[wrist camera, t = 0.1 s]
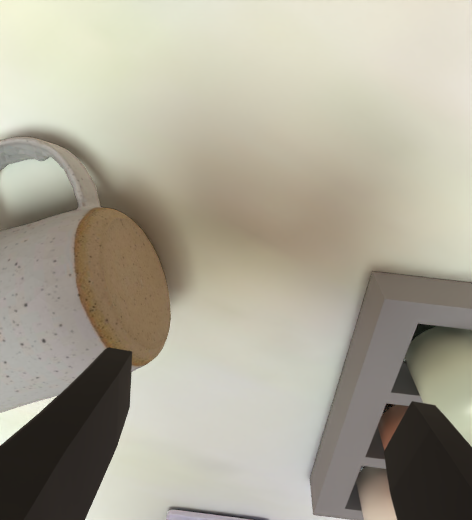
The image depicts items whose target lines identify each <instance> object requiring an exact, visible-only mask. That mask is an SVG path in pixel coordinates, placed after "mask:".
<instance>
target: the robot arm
mask: <svg viewBox="0 0 472 520" xmlns="http://www.w3.org/2000/svg"><path fill="white" fill-rule="evenodd" d="M131 368H132V351H127V350H121V349H116V348H110V347H108V348H106V349H105V350H103V352H102V353H101V354H100V355H99V356H98V357H97V358H96V359H95V360H94V361H93V362H92V363H91V364H90V365H89V366H88V367H87V368H86V369H85V370H84V371H83V372H82V373H81V374H80V375H79V376H78V377H77V378H76V379H75V380H74V381H73V382H72V383H71V384H70V385H69V386H68V387H67V388H66V389H65V390H64V391H63V392H62V393H60V394H59V395H58V396H57V397H56V398H55V399H54V400H53V401H52V402H51V403H50V404H48V405H47V406H46V407H45V408H44V409H43V410H42V411H41V412H40V413H39V414H37V415H36V416H35V417H34V418H33V419H32V420H30V421H29V422H28V423H27V424H26V425H24V426H23V427H22V428H21V429H20V430H19V431H17V432H16V433H15V434H14V435H13V436H11V437H10V438H9V439H8V440H7V441H5V442H4V443H3V444H2V445H1V446H0V520H85V518H86V516H87V514H88V511H89V509H90V507H91V505H92V502H93V500H94V498H95V495H96V493H97V491H98V489H99V486H100V484H101V482H102V480H103V477H104V475H105V473H106V470H107V468H108V466H109V464H110V461H111V459H112V457H113V454H114V452H115V450H116V447H117V445H118V442H119V439H120V435H121V432H122V429H123V426H124V423H125V420H126V417H127V414H128V410H129V407H130V388H131ZM384 456H385V464H386V471H387V478H388V483H389V489H390V495H391V499H392V503H393V506H394V510H395V514H396V517H397V520H472V447H471V446H470V444H469V443H468V442H467V441H466V440H465V438H464V437H463V436H462V435H461V434H460V433H459V431H458V430H457V429H456V428H455V427H454V426H453V424H452V423H451V422H450V421H449V420H448V419H447V418H446V416H445V415H444V414H443V413H442V412H441V411H440V410H439V409H438V408H437V407H436V405H432V404H426V403H420V402H415V401H411V403H410V405H409V407H408V409H407V411H406V412H405V414H404V416H403V418H402V420H401V421H400V423H399V425H398V427H397V429H396V430H395V432H394V434H393V436H392V438H391V439H390V441H389V443H388V445H387V447H386V449H385V450H384ZM166 520H252V519H244V518H236V517H228V516H220V515H212V514H205V513H197V512H189V511H181V510H169V511H168V512H167V517H166Z"/></svg>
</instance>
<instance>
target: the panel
mask: <svg viewBox="0 0 472 520" xmlns="http://www.w3.org/2000/svg"><path fill="white" fill-rule="evenodd" d="M418 324H426V325H435V326H444V327H452V328H461V329H469V330H472V283H469V282H461V281H452V280H443V279H434V278H426V277H417V276H408V275H399V274H391V273H382V272H373V271H372V274H371V277H370V280H369V284H368V287H367V290H366V294H365V297H364V300H363V304H362V307H361V310H360V314H359V317H358V320H357V324H356V327H355V330H354V334H353V337H352V340H351V344H350V347H349V350H348V354H347V357H346V360H345V364H344V367H343V370H342V374H341V377H340V380H339V384H338V387H337V390H336V394H335V397H334V400H333V404H332V407H331V410H330V414H329V417H328V420H327V424H326V427H325V430H324V434H323V437H322V440H321V444H320V447H319V450H318V454H317V457H316V460H315V464H314V467H313V470H312V474H311V477H310V486H311V497H312V507H313V515H319V516H327V517H335V518H342V519H350V520H364V518H363V513H362V508H361V503H360V498H359V493H358V488H357V483H356V479H357V477H358V474H359V471H360V469H361V466H368V467H376V468H384V469H386V464H385V456H384V447H383V444H382V440H381V437H380V433H379V430H378V423H379V421H380V418H381V416H382V413H383V411H384V408H385V406H386V403H387V404H395V405H404V406H409V405H410V403H411V401H415V402H420V403H423V401H422V399H421V397H420V394H419V392H418V390H417V387H416V385H415V383H414V380H413V378H412V376H411V373H410V371H409V369H408V366H407V364H406V362H403V360H404V358H405V355H406V353H407V350H408V348H409V345H410V342H411V340H412V337H413V335H414V332H415V330H416V327H417V325H418Z"/></svg>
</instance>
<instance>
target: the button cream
mask: <svg viewBox="0 0 472 520" xmlns="http://www.w3.org/2000/svg"><path fill="white" fill-rule="evenodd" d="M356 483H357V488H358V493H359V498H360V503H361V508H362V513H363V518H364V520H397V517H396V514H395V510H394V506H393V503H392V499H391V495H390V489H389V483H388V478H387V471H386V469H384V468H376V467H368V466H367V467H365V468H364V469H362V470H361V471H360V472H359V474H358V477H357V479H356Z"/></svg>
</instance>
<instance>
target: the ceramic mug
mask: <svg viewBox="0 0 472 520" xmlns="http://www.w3.org/2000/svg"><path fill="white" fill-rule="evenodd" d="M49 157H52V158H54V159H55V160H56V161H57V162H58V163H59V165H60V166H61V167H62V168H63V169H64V170H65V172H66V174H67V176H68V179H69V181H70V183H71V184H72V186H73V188H74V194H75V196H76V198H77V201H78V208H77V209H76V210H72V211H68V212H65V213H61V214H58V215H54V216H51V217H48V218H45V219H42V220H39V221H36V222H33V223H30V224H26V225H22V226H18V227H12V228H9V229H6V230H2V231H0V413H1V412H5V411H8V410H10V409H13V408H16V407H20V406H23V405H26V404H30V403H33V402H37V401H40V400H44V399H47V398H51V397H54V396H58V395H59V394H60V393H62V392H63V391H64V390H65V389H66V388H67V387H68V386H69V385H70V384H71V383H72V382H73V381H74V380H75V379H76V378H77V377H78V376H79V375H80V374H81V373H82V372H83V371H84V370H85V369H86V368H87V367H88V366H89V365H90V364H91V363H92V362H93V361H94V360H95V359H96V358H97V357H98V356H99V355H100V354H101V353H102V352H103V350H105V349H106V348H108V347H110V348H116V349H121V350H127V351H132V368H131V372H132V371H134V370H136V369H138V368H140V367H142V366H144V365H146V364H148V363H149V362H150V361H152V360H153V359H154V358H155V357H156V356H157V355H158V354H159V353H160V351H161V350H162V348H163V346H164V344H165V341H166V339H167V336H168V332H169V327H170V320H171V314H170V300H169V292H168V287H167V283H166V278H165V275H164V272H163V269H162V267H161V264H160V261H159V258H158V256H157V254H156V252H155V250H154V248H153V246H152V244H151V242H150V241H149V239H148V238H147V236H146V235H145V233H144V232H143V230H142V229H141V228H140V227H139V226H138V225H137V224H136V223H135V222H134V221H133V220H132V219H130V218H129V217H128V216H126V215H125V214H123V213H121V212H119V211H118V210H115V209H111V208H102V207H101V206H100V201H99V198H98V193H97V189H96V186H95V183H94V182H93V180H92V178H91V177H90V175H89V173H88V171H87V170H86V168H85V166H84V165H83V164H82V163H81V162H80V160H79V159H78V158H77V157H76V156H75V155H73V154H72V153H71V152H70V151H68V150H67V149H65V148H63V147H61V146H58V145H56V144H53V143H50V142H46V141H43V140H40V139H37V138H33V137H22V136H21V137H13V138H8V139H4V140H0V170H1V169H3V168H4V167H5V166H6V165H8V164H12V163H16V162H19V161H23V160H27V159H36V160H39V161H44V160H46V159H48V158H49Z"/></svg>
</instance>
